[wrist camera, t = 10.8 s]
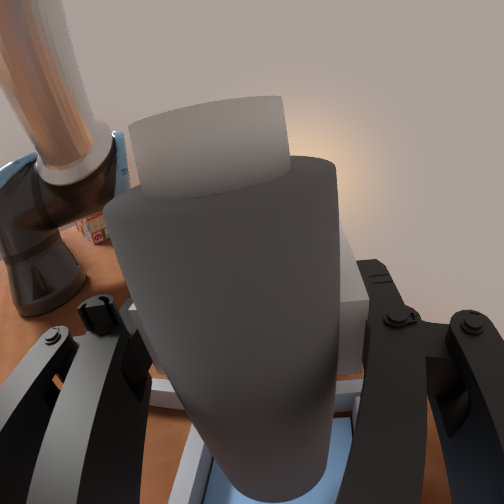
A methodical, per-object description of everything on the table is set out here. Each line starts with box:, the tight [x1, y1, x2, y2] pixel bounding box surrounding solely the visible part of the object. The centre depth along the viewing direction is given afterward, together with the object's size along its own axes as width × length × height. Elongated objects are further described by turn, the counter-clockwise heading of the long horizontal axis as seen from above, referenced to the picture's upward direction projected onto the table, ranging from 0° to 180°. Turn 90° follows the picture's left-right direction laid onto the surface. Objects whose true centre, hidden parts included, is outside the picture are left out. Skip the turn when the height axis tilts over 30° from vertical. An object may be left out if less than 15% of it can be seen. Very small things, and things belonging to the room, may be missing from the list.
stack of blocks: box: [75, 213, 110, 245], centre depth 68 cm, size 21×6×12 cm, turn 45°
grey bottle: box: [102, 96, 340, 503], centre depth 9 cm, size 5×5×14 cm
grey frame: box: [149, 378, 364, 504], centre depth 15 cm, size 14×24×2 cm, turn 83°
